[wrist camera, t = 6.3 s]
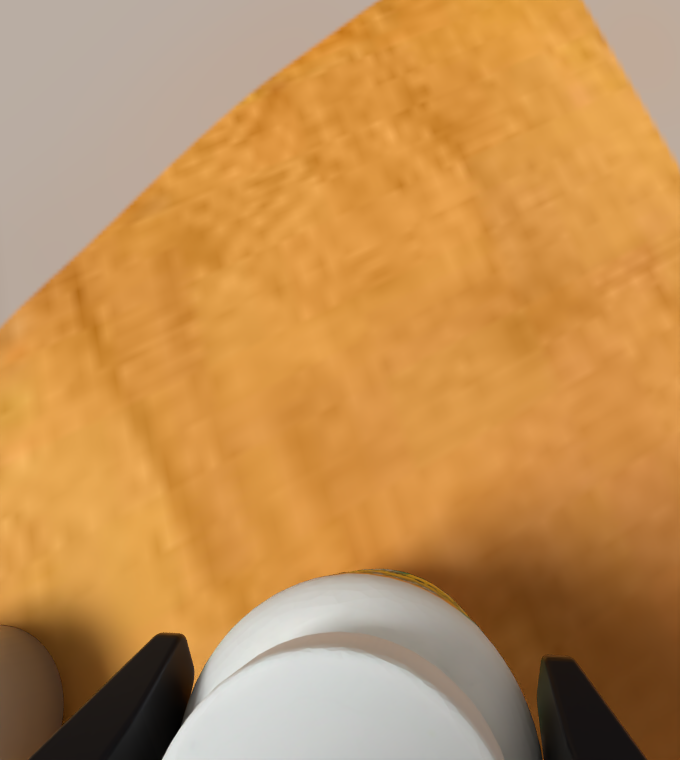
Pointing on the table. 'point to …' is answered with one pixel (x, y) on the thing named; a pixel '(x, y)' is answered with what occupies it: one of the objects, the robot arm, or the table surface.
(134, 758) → the robot arm
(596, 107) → the table surface
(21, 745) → the gray capsule
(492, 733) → the supplement bottle
